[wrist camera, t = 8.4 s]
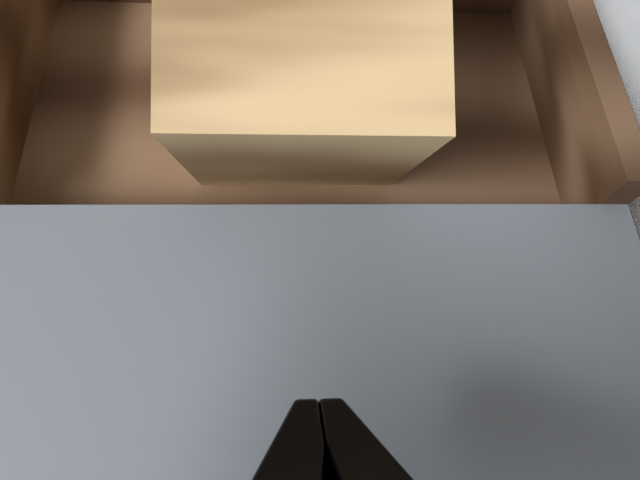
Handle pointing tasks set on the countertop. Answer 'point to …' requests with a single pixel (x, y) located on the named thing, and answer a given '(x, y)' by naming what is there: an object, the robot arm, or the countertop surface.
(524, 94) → the bin
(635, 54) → the countertop surface
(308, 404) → the robot arm
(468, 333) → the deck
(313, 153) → the block
